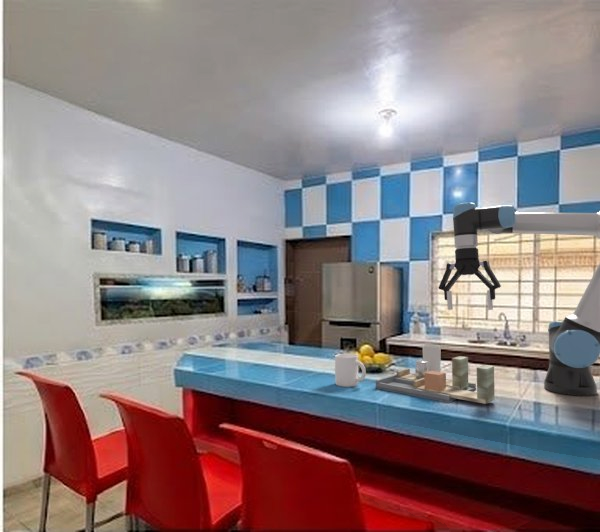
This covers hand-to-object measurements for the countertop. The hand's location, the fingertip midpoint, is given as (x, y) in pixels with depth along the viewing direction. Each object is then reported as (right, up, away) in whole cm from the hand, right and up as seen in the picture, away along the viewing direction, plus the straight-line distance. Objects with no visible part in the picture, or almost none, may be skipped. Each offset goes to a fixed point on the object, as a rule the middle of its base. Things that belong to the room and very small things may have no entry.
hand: (469, 309), depth 147 cm
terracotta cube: (-14, -25, -8) cm, 30 cm away
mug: (-40, -28, +5) cm, 49 cm away
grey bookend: (-6, -28, +20) cm, 35 cm away
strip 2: (-10, -26, -12) cm, 30 cm away
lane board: (-15, -27, 0) cm, 31 cm away
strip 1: (-12, -26, +4) cm, 29 cm away
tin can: (-15, -25, +7) cm, 30 cm away
